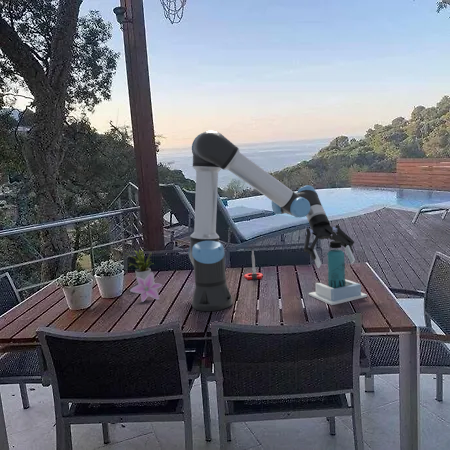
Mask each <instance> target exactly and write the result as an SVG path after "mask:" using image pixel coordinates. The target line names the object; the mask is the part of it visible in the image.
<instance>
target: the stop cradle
mask: <svg viewBox="0 0 450 450" xmlns="http://www.w3.org/2000/svg"><path fill="white" fill-rule="evenodd" d="M345 280H346V281H345V286H344V287H339V288H335V289H334V288H332V287H329V286H328V285H327V284H324V283H321V282H315V291H312V292H308V296H309V297H312V298H314V299H317V300H318V301H321V302H323V303H325V304H328V305H330V306H334V305H339V304H342V303H347V302H350V301H353V300H354V301H355V300H359V299H363V298H366V297H368V294H367V293H364V292H362V285H361V283H358V282H355V281H352V280H350V279H346V278H345Z"/></svg>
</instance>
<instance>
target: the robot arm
mask: <svg viewBox="0 0 450 450" xmlns="http://www.w3.org/2000/svg"><path fill="white" fill-rule="evenodd" d="M192 141H193V142H192V144H191V151H192V152H191V153H192V168H193V169H194V170H195V172H196V173H195V175H196V176H195V195H194V196H195V197H194V198H195V202H194V203H195V205H194V206H195V207H194V230H193V232H192V233H191V234H190V236H189V248H188V250H187V251H188V252H187V254H188V258H189V261H190V262H191V264H192V266H193V275H194V283H195V284H194V291H193V294H192V299H191V305H192V308H193V310H196V311H200V312H216V311H221V310H226V309H228V308H230V307H231V306H232V305H233V296H232V294H231V291H230V289H229V286H228V285H227V276H226V262H225V252H226V251H225V248H224V245H223V244H222V243H221V242H220V236H219V234H218V233H217V211H218V206H217V205H218V189H219V188H218V184H219V183H218V181H219V180H218V179H219V172H220V171H221V170H227V171H229V172H231V173H232V174H233V175H235V176H237V177H238V178H239V179H241V180H242V181H243V182H244V183H247V185H249V186H250V187H252V188H253V189H255V190H256V191H258V192H259V193H260V194H261V195H264V196H265V197H266V198H267V199H268V200H270V201H271V208H272V212H273V213H274V214H275V215H283V214H287V215H290V216H293V217H295V218H305V217H306V219H307V222H308V224H309V228H308V227H307V228H306V230H305V232H304V234H305V241H304V245H303V252H304V253H307V254H308V255H310V256H309V257H310V258H311V260H312V261H314V263H315V266H316V268H317V269H319V268H321V265H322V261H321V259H320V257H319V255H318V252H317V250H316V249H314V248H315V247H316V245H317V242H318V241H319V239H320V240H328V239H330V240H331V241H340V242H341V247H344V251H345V253H346V256H347V258H348V260H349V263H350V264H353V263H354V262H355V261H356V259H355V256H354V250H353V249H354V248H353V245H354V244H355V241H354V240H353V239H352V238H351V237H350V236H349V235H347V233H346V232H344V230H342V229H341V227H340V225H338V224H336V225H335V226H333V227H332V225H331V223H330V221H329V217H328V216H327V214H326V211H325V209H324V207H323V204H322V203H321V199H320V197H319V194H318V193H317V191H316V190H315V188H314V186H312V185H304V186H301V187H300V188H298V190H297V192H294V191H293V190H292V189H291V188H289V187H288V186H287V185H285V184H284V183H283V182H281V181H279V180H278V179H277V178H275V177H274V175H272V174H270V173H268V171H266V170H264V169H263V168H262V167H260V166H259V165H257V164H256V163H255V162H253V161H252V160H251V159H249V158H248V157H247V156H246V155H244V154H243V153H241V152H240V148H239V147H238V146H237V145H235V144H234V143H233V142H231V141H230V140H229V139H228V138H227V137H225V136H224V135H223V133H220V132H219V131H216V130H206V131H204V132H202V133H200V134H198V135H196V137H195V138H194V139H193V140H192ZM311 235H313V236H315V238H314V240H313V242H312V243H311V246H310V247H309V245H310V239H311Z"/></svg>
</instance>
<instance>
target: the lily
mask: <svg viewBox="0 0 450 450" xmlns="http://www.w3.org/2000/svg"><path fill="white" fill-rule="evenodd" d="M136 281H137V284H136V285H134V286H133V287H132V288H131V289H129V291H130V292H131V293H136V294H139V295H140V298H141V303H144V301H146V299H147V298H148V297H151V298H152V299H155V300H157V301H158V300H160V295H159V293H158V291H157V290H158V289H159V288H161V287H163V284H162V283H158V282H155V274H154V272H153V271H151V272H150V274H149V275H148V276H147V277H146V278H145V280H144V279H142V278H140V277H137V276H136Z"/></svg>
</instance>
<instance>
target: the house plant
mask: <svg viewBox="0 0 450 450" xmlns="http://www.w3.org/2000/svg"><path fill="white" fill-rule="evenodd" d="M133 251H134V252H135V254H136V256H137V257H135V256H133V255H131V254H127V256H129V257H131V258H133V259H134V260H135V263H137V264H135V263H129V265H128V267H130V266H134V267H135V269H136V270H135V272H134V273H135V275H136V277H140V278H142V279H144V280H145V278H146V277H147V276H148V275H149V274H150V273H151V272H152V270H151V267H150V266H151V265H155V264H154V263H155V262H154V263H152V261H150V260H151V258H150V257H151V256H152V255H153V253H149V254H148V257H147V258H146V259H145V253H144V249H142V250H141V249H139V250H138V251H137V250H136V249H134V250H133ZM154 254H155V252H154ZM145 260H146V261H145Z"/></svg>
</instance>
